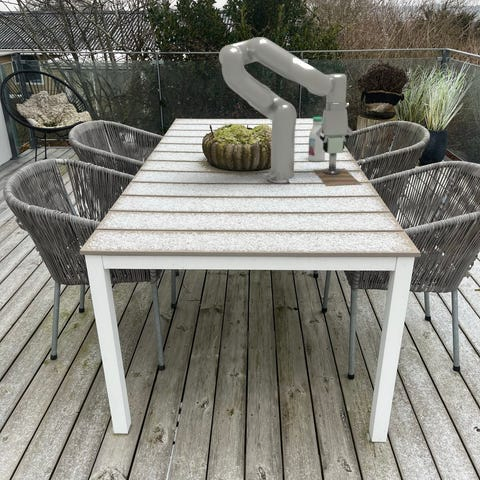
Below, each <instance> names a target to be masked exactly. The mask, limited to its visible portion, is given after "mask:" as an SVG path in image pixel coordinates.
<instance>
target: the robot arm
mask: <svg viewBox="0 0 480 480" xmlns="http://www.w3.org/2000/svg"><path fill="white" fill-rule="evenodd" d="M218 60H219V62H220V65H221V72H222V73H221V74H222V77H223V80H224V82H225V83H226V85H227V86H228V88H229V89H231V90H232V91H234V92H235V94H237V95H239V96H240V97H241V98H242V99H243V100H244V101H246V102H247V103H248V104H249V106H251V107H253V109H254V110H256V111H258V112H259V113H260V114H262V115H263V116H265V117H266V118H267V119H269V120H270V121H271V130H270V131H271V132H270V133H271V134H270V162H271V163H270V169H268V172H267V173H262V175H261V177H262V179H267V180H268V182H270V183H272V184H273V183H275V184H291V182H290V180H291V179H294V177H295V147H296V145H295V143H296V141H295V139H296V138H295V137H296V125H297V117H298V115H297V110H296V108H295V106H294V105H293V104H292V102H289V101H287V100H285V99H283V98H281V97H280V96H279V95H278V94H276V93H275V92H274V91H272V90H271V88H270V87H269V86H268V85H265V84H263V83H262V82H260V81H259V80H258V79H256V78H255V77H254V76H253V75H252V74H250V73H249V72H248V71H247V70H246V68H245V65H248V64H252V63H254V62H258V63H260V64H261V65H263V66H264V67H267V68H268V69H270V70H272V71H274V72H275V73H276V74H278V75H279V76H281V77H283V78H285V79H286V80H290V81H292V82H295V83H297V84H299V85H300V86H303V87H304V88H306V89H307V91H308V92H309V93H311V94H312V95H316V96H319V97H324V96H326V101H325V102H326V103H325V109H323V112H322V116H321V117H322V125H321V128H320V129H319V130H318V131H317V132H316V135H317V136H318V137H319V138H320V139H321V140H322V141H323V150H324V151H325V153H327V147H328V143H327V140H328V137H329V136H335V135H340V136H341V137H343V150H344V149H345V146H346V142H347V140H348V139H349V138H350V136H352V135H353V133H354V131H353V130H352V129H351V128H350V126H349V123H348V122H349V121H348V120H349V119H348V111H347V107H349V106H350V104H349V102H346V98H347V97H346V95H347V81H348V80H347V79H348V78H347V75H346V74H345V73H331V74H324V73H323V72H321V71H320V70H318V69H317V68H315V67H313V66H312V65H311V64H309V63H307V62H305V61H303V60H302V59H301V58H299V57H297V56H296V55H295V54H292V53H291V52H290V51H287V50H286V49H285V48H283V47H281V46H279V44H276V43H275V42H273V41H271V40H270V39H268V38H266V37H263V36H261V37H254V38H250V39H247V40H243V41H239V42H235V43H231V44H227V45H225V46H223V47H222V48H221V49H220V51H219V54H218ZM320 133H323V134H324V137H323V136H321V134H320Z"/></svg>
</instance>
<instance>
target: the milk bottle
mask: <svg viewBox="0 0 480 480" xmlns="http://www.w3.org/2000/svg"><path fill="white" fill-rule="evenodd" d="M322 117H323V116H313V117H312V124H313V125H312V128H310V131H309V135H308V160H309V161H311V162H323V161H324V160H325V159H326V158H325V156H326V152H325V151H324V150H323V141H322V140H321V139H320V138H319V137H318V136H317V135H316V132H317V131H318V130H319V129H320V128H321V125H322ZM320 134H321V136H323V137H324V134H323V133H320Z"/></svg>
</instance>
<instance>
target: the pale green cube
mask: <svg viewBox="0 0 480 480" xmlns="http://www.w3.org/2000/svg"><path fill="white" fill-rule="evenodd" d="M327 143H328V147H327V152H326V153H327V154H329V153H337V154H341V153H342V154H343V152H344V149H343V137H341V136H340V135H335V136H329V137H328V140H327Z"/></svg>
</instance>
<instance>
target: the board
mask: <svg viewBox="0 0 480 480" xmlns="http://www.w3.org/2000/svg"><path fill="white" fill-rule="evenodd" d="M328 154H329V155H328V168H327V167H326V168H324V169H312V171H313V172H314V173H315V175H316V176H317V177H318V178H319V179H320V181H321V182H322V183H323V184H324V186H325V187H338V186H339V187H340V186H358V185H359V186H360V185H362V183H361V182H360V181H359V180H358V179H356V178H355V176H353V175H352V173H350V172H349V171H348V170H347V169H346V168H343V167H342V168H337V154H338V153H328Z"/></svg>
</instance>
